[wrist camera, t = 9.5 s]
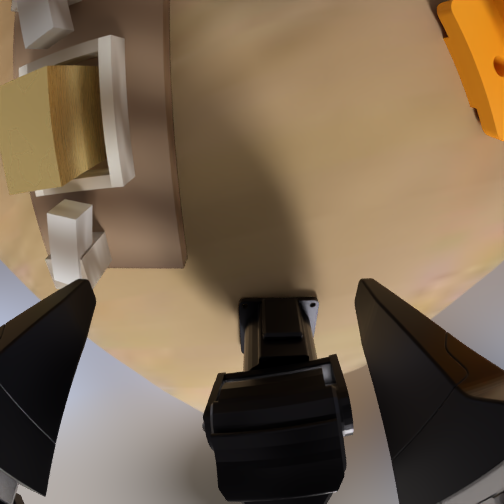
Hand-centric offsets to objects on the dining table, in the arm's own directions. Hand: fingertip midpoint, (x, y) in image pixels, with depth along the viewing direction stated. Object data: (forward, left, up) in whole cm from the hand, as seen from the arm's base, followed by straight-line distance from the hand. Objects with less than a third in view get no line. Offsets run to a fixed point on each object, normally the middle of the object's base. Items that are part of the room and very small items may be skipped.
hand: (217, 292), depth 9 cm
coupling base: (+5, +10, -12) cm, 17 cm away
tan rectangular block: (+5, +10, -10) cm, 15 cm away
